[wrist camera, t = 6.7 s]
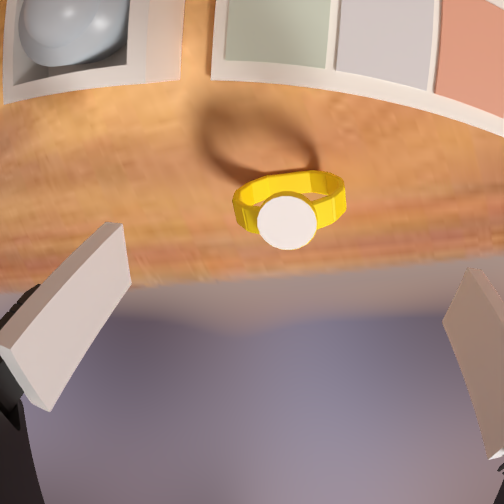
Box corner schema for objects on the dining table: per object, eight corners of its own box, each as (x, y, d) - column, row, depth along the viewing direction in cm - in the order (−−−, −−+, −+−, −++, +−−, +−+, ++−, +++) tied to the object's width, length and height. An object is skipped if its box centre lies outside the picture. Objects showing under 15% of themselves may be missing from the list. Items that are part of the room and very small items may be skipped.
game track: (213, 80, 17) (209, 80, 16) (224, -65, 12) (222, -70, 11) (502, 136, 16) (508, 139, 15) (514, 6, 10) (520, 5, 10)
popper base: (52, 92, 18) (3, 104, 13) (59, -31, 12) (14, -41, 8) (180, 80, 17) (145, 83, 13) (192, -63, 12) (163, -94, 7)
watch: (249, 207, 21) (226, 255, 16) (241, 166, 20) (213, 203, 15) (343, 199, 20) (351, 247, 15) (339, 156, 18) (347, 190, 13)
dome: (48, 71, 15) (-8, 81, 11) (55, -24, 11) (2, -33, 7) (143, 56, 14) (93, 55, 10) (152, -52, 11) (109, -80, 6)
